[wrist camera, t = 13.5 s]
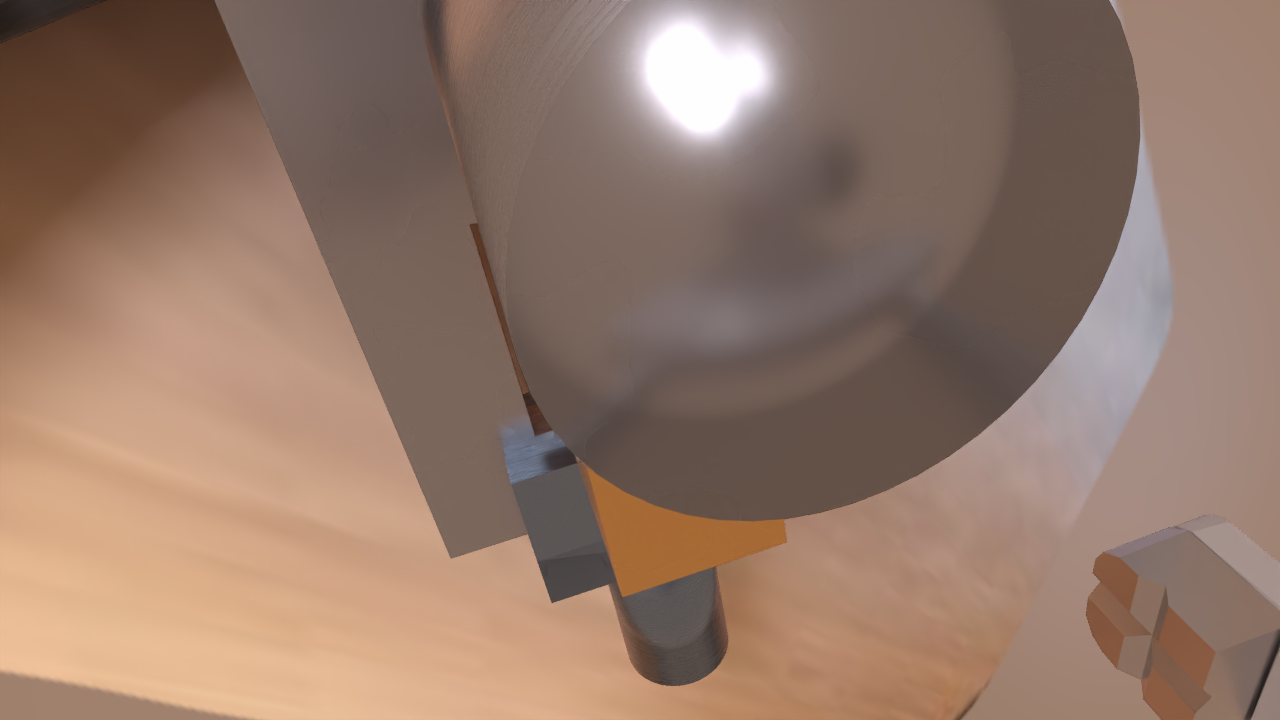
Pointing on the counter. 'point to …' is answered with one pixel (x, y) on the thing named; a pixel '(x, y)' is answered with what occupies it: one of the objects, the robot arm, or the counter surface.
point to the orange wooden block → (667, 537)
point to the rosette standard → (696, 246)
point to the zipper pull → (35, 14)
